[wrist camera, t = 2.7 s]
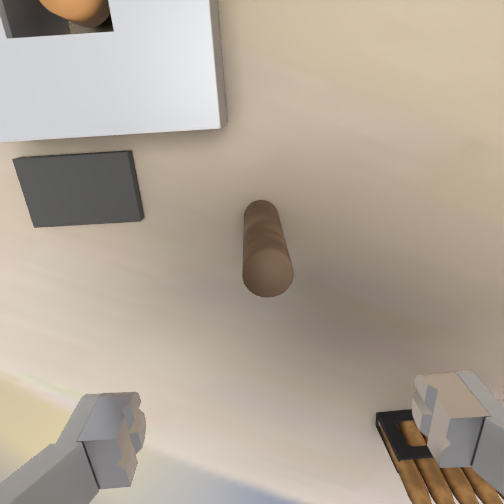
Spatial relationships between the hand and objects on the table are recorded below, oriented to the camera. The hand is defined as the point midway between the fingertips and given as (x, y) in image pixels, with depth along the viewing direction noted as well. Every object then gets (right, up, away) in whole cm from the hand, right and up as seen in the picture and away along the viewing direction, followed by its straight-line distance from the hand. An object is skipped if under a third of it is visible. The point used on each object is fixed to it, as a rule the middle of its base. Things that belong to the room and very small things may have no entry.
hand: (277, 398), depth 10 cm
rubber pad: (-13, +9, +16) cm, 22 cm away
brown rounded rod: (0, +7, +17) cm, 18 cm away
